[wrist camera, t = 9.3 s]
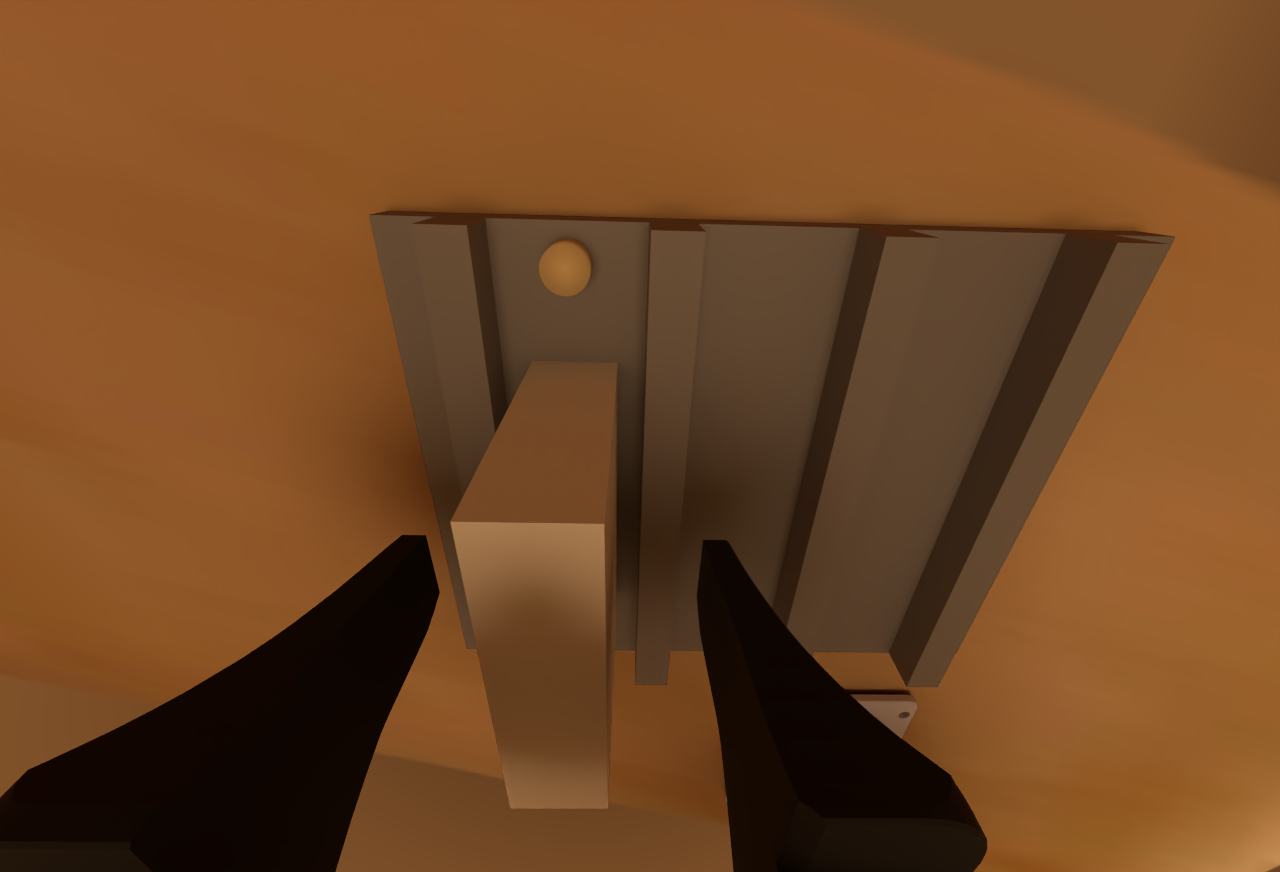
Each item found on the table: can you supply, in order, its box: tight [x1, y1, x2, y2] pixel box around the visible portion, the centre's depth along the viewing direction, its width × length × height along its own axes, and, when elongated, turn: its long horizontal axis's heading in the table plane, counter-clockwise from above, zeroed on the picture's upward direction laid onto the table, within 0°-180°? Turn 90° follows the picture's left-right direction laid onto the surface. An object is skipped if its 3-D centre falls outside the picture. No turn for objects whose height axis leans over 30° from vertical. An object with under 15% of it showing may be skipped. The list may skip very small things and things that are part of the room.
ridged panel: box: [369, 211, 1175, 687], centre depth 16 cm, size 16×20×2 cm
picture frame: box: [450, 361, 618, 808], centre depth 13 cm, size 9×2×7 cm, turn 179°
